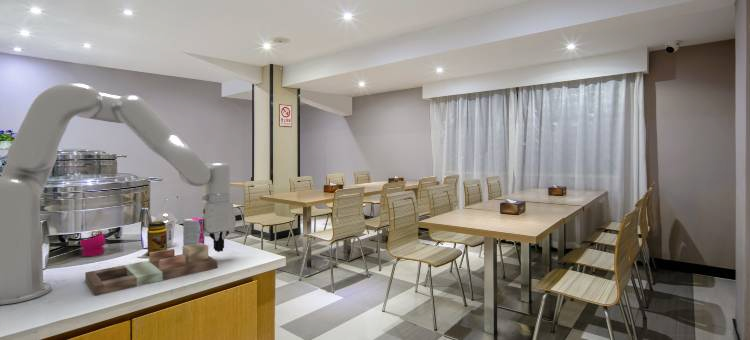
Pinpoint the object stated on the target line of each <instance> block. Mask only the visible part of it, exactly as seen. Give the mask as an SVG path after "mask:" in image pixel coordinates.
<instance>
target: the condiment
mask: <svg viewBox="0 0 750 340" xmlns="http://www.w3.org/2000/svg"><path fill="white" fill-rule="evenodd" d="M147 225H148V227H147V228H148V230H147V235H146V237H147V251H146V252H145V253H144V254H142V255H140V256H138V257H137V259H138V258H139V259H140V258H142V259H143V258H149V253H151V252H156V251H162V250H168V248H167V230H166V228H165V222H163V221H156V222H153V221H150V222H149V223H148V224H147Z"/></svg>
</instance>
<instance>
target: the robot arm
mask: <svg viewBox="0 0 750 340" xmlns="http://www.w3.org/2000/svg"><path fill="white" fill-rule="evenodd" d="M74 117H79V118H83V119H89V120H95V121H104V122H109V123H115V124H125V126H127V127H128V128H129V130H131V132H133V133H134V134H135V135H136V136H137V137H138V138H139V140H141V141H142V143H144V145H146V147H147V148H148V149H150V150H151V151H152V152H153V153H155V154H156V155H157V156H159V157H161V158H162V159H164V160H165V161H166V162H167V163H169V164H170V165H171V166H172V167H173V168H174V169H175V171H177V172H178V176H179V179H180V180H181V181H182V182H183V183H185V184H187V185H189V186H193V187H203V186H204V185H205V189H206V190H205V192H206V193H205V195H204V196H201V199H202V201H205V202H204V203H203V208H202V214H201V215H202V216H201V218H202V230H203V233H202V235H203V236H204V237H210V239H212V240H213V249H214V251H215V252H217V253H220V252H224V248H225V240H226V237H227V236H229V234H232V233H234V232H235V229H236V213H235V207H234V202H233V201H231V177H230V175H231V173H230V171H231V170H230V169H231V168H230V167H231V166H230V165H229V164H228V163H227V162H209V163H205V162H204V161H203V159H201V157H200V156H199V155H198V154H197V153H196V152H195V151H194V150H193V148H192V147H190V146H189V145H188V144H187V143H186V142H185V141H184V140H182V138H181V137H180V136H179V135H178V134H176V133H175V132H174V130H173V129H172V128H171V127H170V126H169V125H168V124H167V123H166V122H165V121H164V120H163V119H162V118H161V117H160V115H159V114H158V113H157V112H156V111H155V110H154V109H153V108H152V107H151V106H150V105H149V104H148V103H147V101H145V100H144V99H143V98H142V97H141V96H139V95H136V94H127V95H126V94H125V95H123V96H120V95H115V94H109V93H104V92H99V90H97V89H96V88H95V87H93V86H92V85H89V84H87V83H86V84H85V83H82V82H81V83H79V82H66V83H60V84H57V85H54V86H51V87H48V88H47V89H45V90H44V91H42V92H41V93H39V94H38V95H37V97H36V98H35V99H34V100H33V101H32V103H31V104H30V107H29V109H28V111H27V112H26V115H25V116H24V118H23V120H22V122H21V124H20V126H19V128H18V131H17V133H16V135H15V137H14V139H12V141H11V144H10V145H9V147H8V149H7V160H6V162H5V164H4V167H3V170H2V171H1V173H0V305H2V306H3V305H10V304H11V305H12V304H16V303H21V302H22V303H23V302H26V301H30V300H34V299H36V298H38V297H41V296H44V295H47V294H48V293H49V292H50V291H51V290H52V284H51V283H49V282H44V266H43V265H44V264H43V242H42V241H43V239H42V238H43V237H42V221H41V206H40V205H41V204H40V202H41V201H40V200H41V199H40V198H41V196H42V194H43V192H44V190H45V187H46V185H47V182H48V180H49V177H50V175H51V173H52V171H53V169H54V166H55V165H56V162H57V159H58V153H59V152H58V148H59V145H60V143H61V141H62V138H63V136H64V134H65V132H66V129H67V127H68V125H69V123H70V121H71V120H72V119H73V118H74Z"/></svg>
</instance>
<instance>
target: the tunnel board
mask: <svg viewBox="0 0 750 340" xmlns="http://www.w3.org/2000/svg"><path fill="white" fill-rule="evenodd" d="M175 251H176V250H175V248H169V249H168V248H167V250H162V251H156V252H151V253H149V257H148V259H149V260H145V261H139V262H134V263H128V264H123V265H118V266H113V267H112V266H111V267H106V268H103V269H102V268H101V269H96V270H90V271H87V272H86V271H85V272H84V275H85V277H84V279H85V280H84V281H85V282H86V284H87V286H88V287H89V289H90V290H91V292H92V293H93V295H94V296H99V295H104V294H108V293H112V292H118V291H121V290H126V289H130V288H135V287H139V286H143V285H148V284H152V283H153V284H154V283H156V282H161V281H165V280H170V278H171V279H174V278H179V276H180V277H183V275H184V276H188V275H192V274H197V273H201V272H206V271H210V270H215V269H218V259H215V258H213V257H212V256H209V255H208V258H206V259H202V260H197V261H192V262H189V261H187V260H186V256H185V255H183V253H182V254H175Z"/></svg>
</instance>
